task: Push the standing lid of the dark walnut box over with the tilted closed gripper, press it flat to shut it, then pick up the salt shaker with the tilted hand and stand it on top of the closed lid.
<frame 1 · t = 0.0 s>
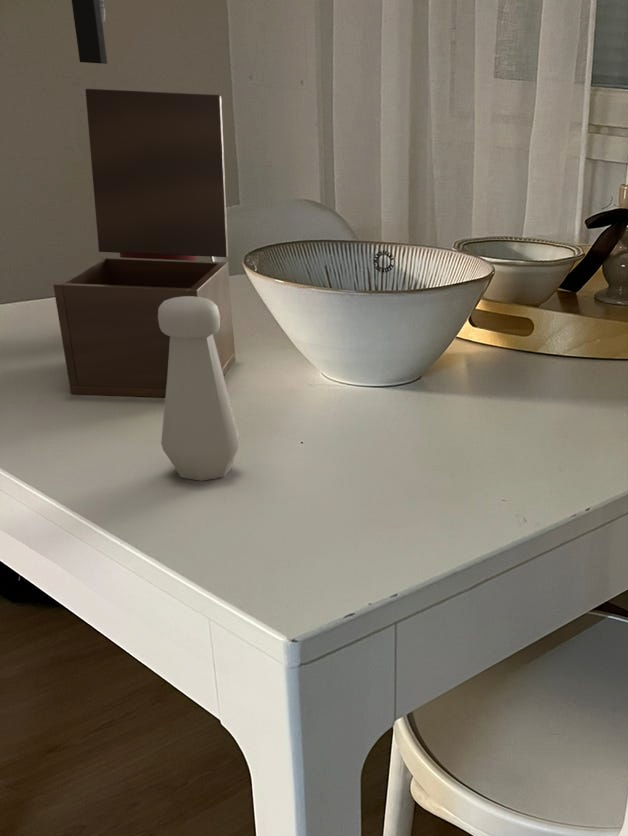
hand: (34, 62, 90), 27 cm above the table, tool pointing down, fingers open, 13 cm apart
salt shaker: (203, 473, 80), on the table
chest: (158, 376, 101), on the table
chest lid: (158, 175, 100), point 17 cm above the table, hinge at 100.0°
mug: (166, 329, 118), on the table
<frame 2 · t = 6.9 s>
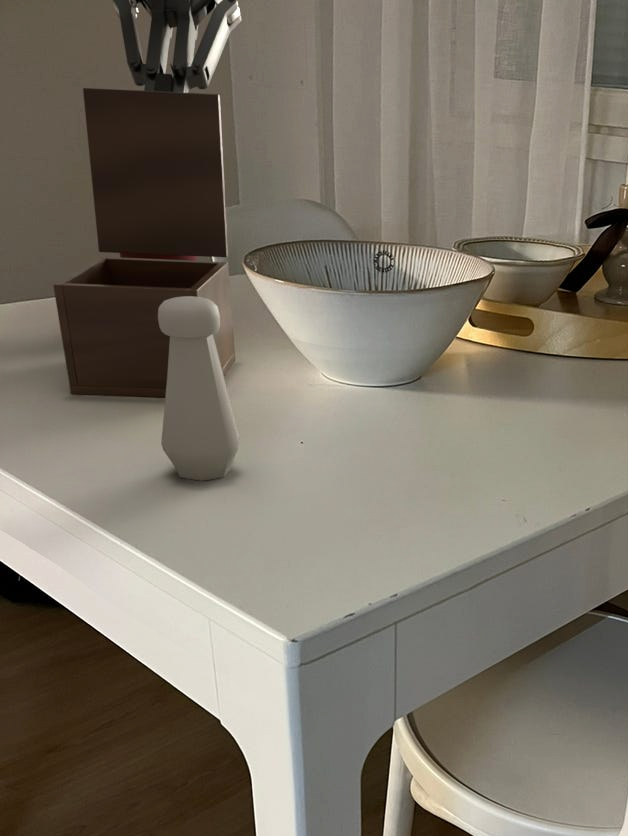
hand: (160, 139, 100), 20 cm above the table, tool tilted 45°, fingers closed
chest lid: (157, 175, 99), point 17 cm above the table, hinge at 97.3°, touching gripper
everything else where it was.
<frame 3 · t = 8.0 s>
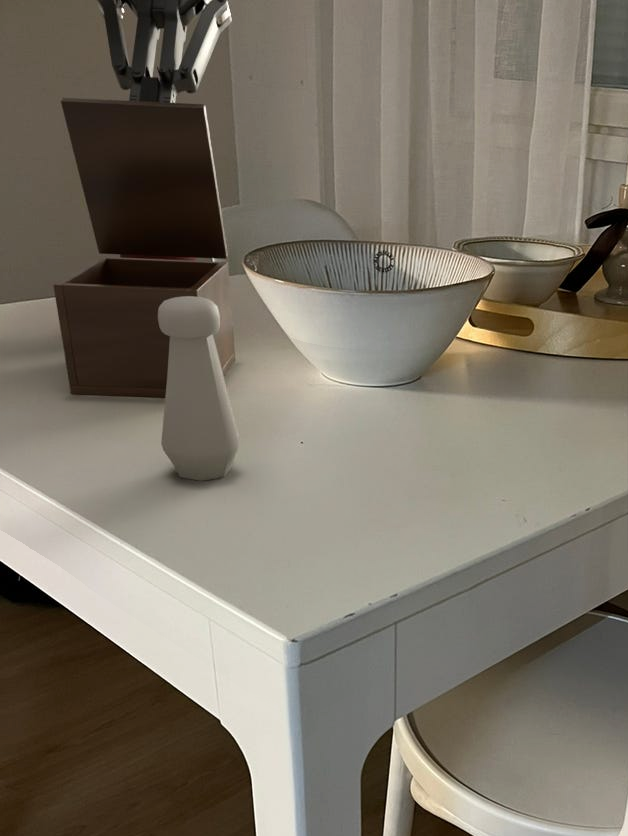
hand: (146, 146, 95), 20 cm above the table, tool tilted 45°, fingers closed
chest lid: (149, 182, 97), point 17 cm above the table, hinge at 71.2°, touching gripper
everything else where it was.
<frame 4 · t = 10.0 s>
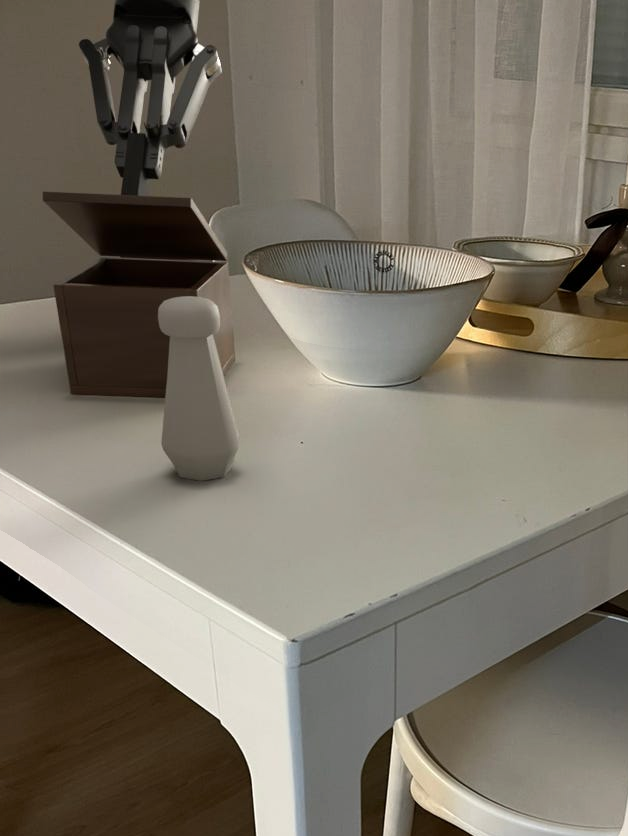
hand: (133, 204, 92), 16 cm above the table, tool tilted 45°, fingers closed
chest lid: (142, 228, 95), point 14 cm above the table, hinge at 27.6°, touching gripper
everything else where it was.
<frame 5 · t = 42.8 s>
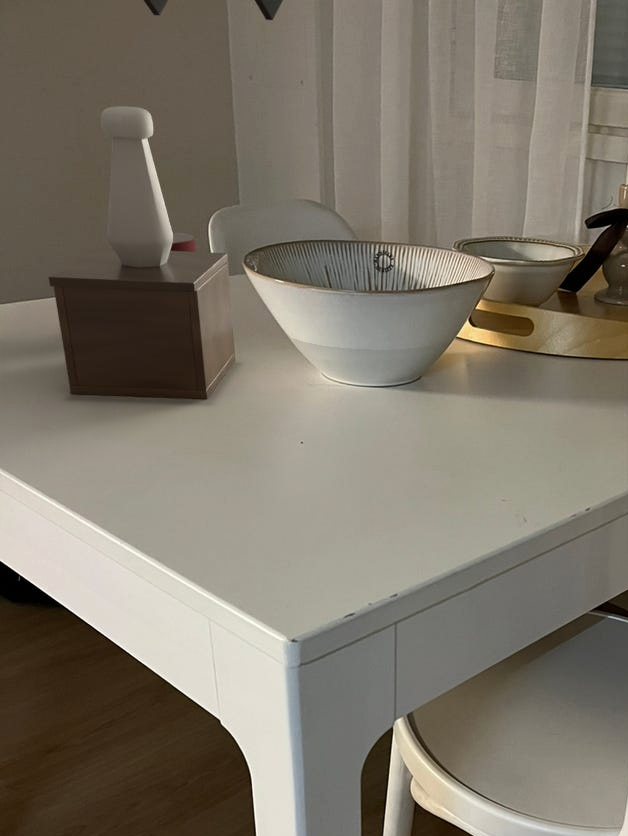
hand: (203, 5, 94), 32 cm above the table, tool tilted 45°, fingers open, 13 cm apart
salt shaker: (143, 265, 96), point 10 cm above the table, touching chest lid
chest lid: (144, 268, 96), point 10 cm above the table, hinge at -0.2°, touching chest, salt shaker
everything else where it was.
at the end: chest lid at +0° (first picture: +100°); salt shaker inside the target area on the chest (0.1 cm from its centre), point 10.4 cm above the chest's base; salt shaker tilted 0° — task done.
